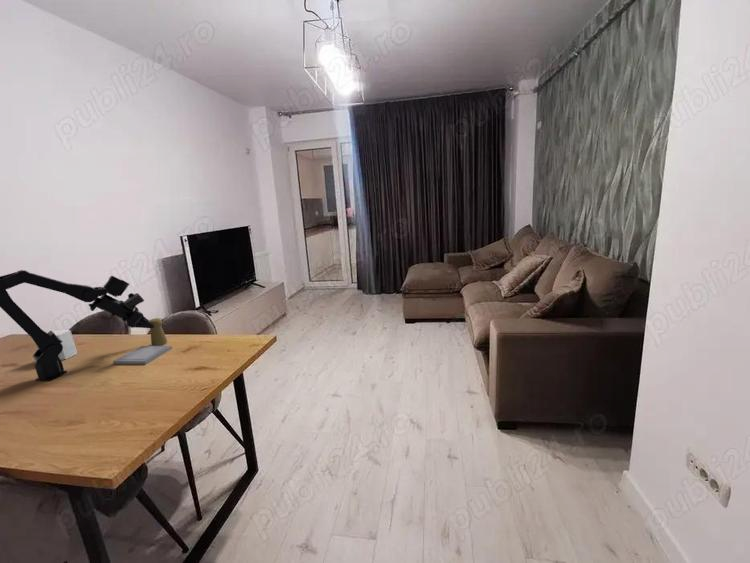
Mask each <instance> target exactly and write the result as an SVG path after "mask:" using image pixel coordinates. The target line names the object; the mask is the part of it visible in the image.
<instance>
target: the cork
mask: <svg viewBox="0 0 750 563" xmlns="http://www.w3.org/2000/svg"><path fill="white" fill-rule="evenodd" d="M148 320H149V321H148V322H149V323H151V324H152V325H154V327H153V328H149V330H150V342H151V343H150V344H151V345H150V346H165V345H166V344H168V342H167V341H168V339H167V336H166V334H165V331H164V330H163V327H162V325H163V320H162V319H161V318H159V317H155V318H152V319H148Z"/></svg>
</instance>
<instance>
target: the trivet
mask: <svg viewBox="0 0 750 563" xmlns="http://www.w3.org/2000/svg"><path fill="white" fill-rule="evenodd" d="M172 349H173V346H172V345H161V346H152V345H141V346H139V347H137V348H135V349H133V350H131V351H130V352H128V353H126V354H124V355H122V356H119V357H118V358H116V359H114V360H112V363H113V365H147V364H149V363H151V362H152V361H154V360H155V359H157V358H159V357H160V356H162V355H164V354H166V353H167V352H169V351H171V350H172Z"/></svg>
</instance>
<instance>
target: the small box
mask: <svg viewBox="0 0 750 563" xmlns="http://www.w3.org/2000/svg"><path fill="white" fill-rule="evenodd" d="M52 332H53V333H54V334H55V335H56V337H57V338H59V339H60V340H61V341H62V343H61V344H62V346H63V349H62V352H61V353H60V354H59V355H58V357H59V358H60V360H61V361H62V360H63V361H65V360H64V359H66V360H67V359H70V358H71V357H74V356H76V355H77V354H78V351H77V347H76V344H75V341H74V337H73V334H72V331H71V330H54V331H52Z"/></svg>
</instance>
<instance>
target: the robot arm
mask: <svg viewBox="0 0 750 563" xmlns="http://www.w3.org/2000/svg"><path fill="white" fill-rule="evenodd" d="M21 284H28V285H32V286H35V287H40V288H43V289H47V290H50V291H55V292H59V293H63V294H66V295H68V296H70V297H72V298H74V299H78V300H79V301H81V302H83V303H88V306H89V310H90V311H91V312H94V311H95V310H96V308H97V309H99V310H102V311H103V312H106V313H108V314H110V316H111V317H112V316H113V317H117V318H118V319H120V320H122V321H123V322H125V324H126V326H127V327H130V328H132V329H133V328H134V329H135V328H138V329H139V328H140V329H141V328H142V329H143V328H144V329H150V328H153V327H154V325H152V324H151V323H149V322H148V321H149V320H150V319H147V318H146V317H145V315H144V314H143V313H142V312H141V311H140V310H139V308H138V307H137V306H138V305H139V304H141V303H143V302H144V301H145V299H144V298H143V297H142V296H141V295H140V294H139V293H132V292H131V293H129V294H128V295H127V297H128V298H127V299H126V300H125V301H123V300H118V299H116V298H117V297H119V296H120V297H121V296H122V295H123V294H124V292H125V291H126V290H127V289H128V287H129V286H130V283H128V282H127V281H125V280H123V279H121V278H118V277H116V276H114V275H110V276H109V278H108V280H107V282H105V284H104V285H103V286H97V287H96V286H93V287H92V286H89V285H86V284H85V285H84V284H77V283H70V282H64V281H62V280H61V281H60V280H57V279H54V278H50V277H48V276H47V277H46V276H43V275H39V274H36V273H33V272H30V271H27V270H23V269H21V270H18V271H16V272H13V273H8V274H3V275H0V308H1V310H3V311H4V312H5V313H6V314H7V316H8V317H10V319H12V320H13V321H14V322H15V323H16V324H17V325H18V326H19V327H20V328H21V329H22V330H23V331H24V332H25V333H26V334H28V336H30V338H31V340H32V341H33V342H34V344H35V345H36V347H37V350H36V351H35V352H34V354H33V355H32V357H33V359H34V360H35V362H36V363H35V364H33V365H34V369H35V372H36V375H37V378H35V379H34V380H35V381H41V382H42V381H43V382H44V381H45V382H47V381H48V382H49V381H52V380H54V379H56V378H59V377H61V376H62V375H65V374H66V373H68V370H65V367H64V365H63V361H62V360H60V358H59V357H58V355H59V354H60V353H61V352H62V349H63V346H62V344H61V343H62V341H61V340H60V339H59V338H57V337H56V335H55V334H54V333H53V331H52V330H49V331H48V332H46V331H45V330H43V329H42V328H41V327H40V326H39V325H37V323H36V322H35V321H34V320H33V319H32V318H31V317H30V316H29V315H28V314H27V313H26V312H25V311H24V310H23V309H22V308H21V307H20V306H19V305H18V304H17V303H16V302H15V301H14V300H13V299H12V297H11V296H10V294H9V292H8V291H7V290H8V289H11V288H13V287H16V286H18V285H19V286H20V285H21ZM108 294H109V295H108ZM114 297H115V298H114Z"/></svg>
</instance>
